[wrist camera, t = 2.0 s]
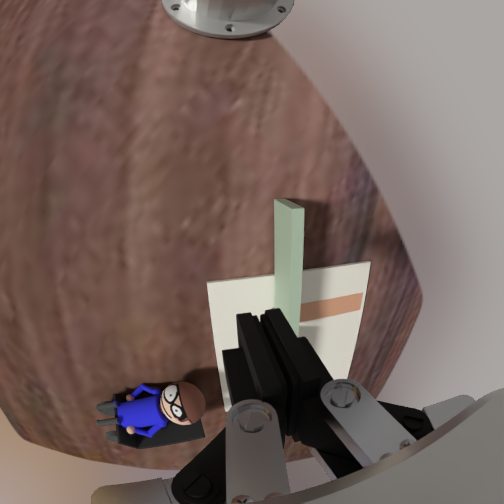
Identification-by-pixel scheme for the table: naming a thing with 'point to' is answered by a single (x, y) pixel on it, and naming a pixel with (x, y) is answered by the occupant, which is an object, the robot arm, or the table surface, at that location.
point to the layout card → (311, 312)
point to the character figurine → (155, 416)
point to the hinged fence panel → (289, 259)
